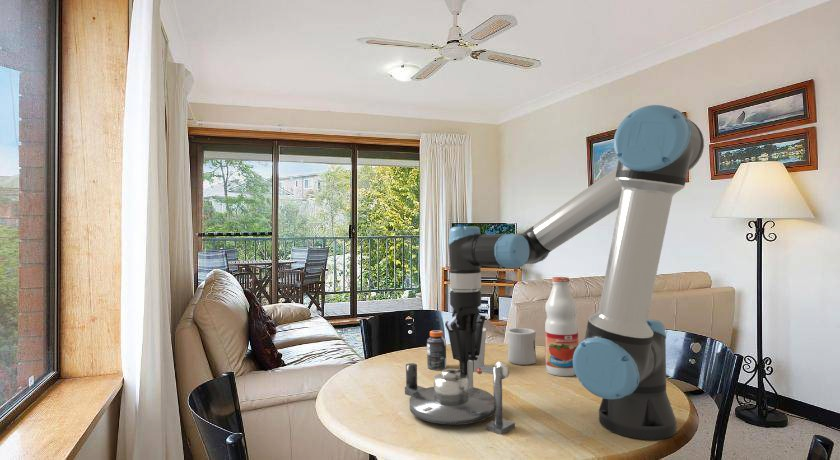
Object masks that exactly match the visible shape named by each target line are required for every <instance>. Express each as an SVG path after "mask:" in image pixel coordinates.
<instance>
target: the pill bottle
mask: <svg viewBox="0 0 840 460" xmlns="http://www.w3.org/2000/svg"><path fill="white" fill-rule="evenodd" d="M443 335H444V333H443V331H442V330H440V329H439V330H435V329H434V330H431V331H429V337H428V338H427V339H426V352H427V353H426V356H427V357H426V358H427V359H426V362H427V364H426V365H427V368H428V369H429V370H434V371H439V370H441V371H442V370H444V369H447V339H446V338H445V337H443Z"/></svg>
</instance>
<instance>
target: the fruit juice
mask: <svg viewBox="0 0 840 460" xmlns="http://www.w3.org/2000/svg"><path fill="white" fill-rule="evenodd" d="M551 283H552V287H551V289H550V294H549V296H548V299H547V300H546V301H545V304H544V305H545V306H544V310H545V314H546V319H545V322H544V343H545V348H544V350H545V371H546V372H547V373H548V374H550V375H553V376H556V377H557V376H558V377H573V376H576V374H575V372H574V368H573V355H574V352H575V350H576V348H577V347H578V345H579V325H578V321H577V318H576V317H577V313H578V304H577V303H576V301H575V300H574V299H575V298H574V297H573V295H572V292H571V289H570V287H569V286H570V285H569V284H570V278H569V277H567V276H553V277H552V278H551Z"/></svg>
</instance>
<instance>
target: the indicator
mask: <svg viewBox="0 0 840 460" xmlns="http://www.w3.org/2000/svg"><path fill="white" fill-rule="evenodd" d="M476 373H477V374H479V375H480V374H482V373H485V374H490V375H493V376H492V377H493V396H494V414H493V420H492V421H490V422H487V423H486V424H485V430H487V431H488V432H489V431H490V432H492V433H495V434H497V435H498V434H499V435H500V436H502V435H504V434H506V433H507V432H509V431H511V430H513V429H514V428H515V427H516V422H514V421H512V420H511V421H510V420H508V419H504V417H503V380H504V379H507V378H508V377H509V374H510V368H509V366H508V365H507V363H506V362H504V361H498V362H495V363H494V364H493V366H491V365H486V364H484V365H482V366H481V368H478V369H477V371H476Z"/></svg>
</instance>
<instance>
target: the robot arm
mask: <svg viewBox="0 0 840 460" xmlns="http://www.w3.org/2000/svg"><path fill="white" fill-rule="evenodd" d="M704 149H705V139H704V134H703V133H702V131H701V129H700V127H699V126H698V125H697V124H696V123H695V122H693V121H692V120H691V119H688V117H686V115H684V113H683V112H682V111H680V110H678V109H676V108H673V107H670V106H665V105H663V104H652V105H645V106H641V107H639V108H637V109H635V110H634V111H631V112H630V113H629V114H628V115H627V116H626V117H625V118H624V119H622V121H620V123H619V125H618V127H617V128H616V131H615V132H614V137H613V150H614V153H615V155H616V159H618V160H617V167H615V168H613V169H612V170H610V171H609V172H608V173H606V175H604V176H602V177H600V179H598V180H596V181H595V182H594V183H593V184H591V185H589V186H588V187H586V188H585V189H584V190H582V191H581V192H579V193H578V194H577V195H575V196H574V197H572V198H571V199H569V200H568V201H567V202H565V203H564V204H562V205H560V206H559V207H558V208H556V209H555V210H553V211H552V212H551V213H550V214H548V215H546V216H545V217H544V218H542V219H541V220H539V221H538V222H536V223H535V224H533V226H530V228H527V230H525V231H523V232H522V233H499V234H498V233H495V234H484V233H483V234H482V233H481V228H480V227H479V226H475V225H474V226H473V225H472V226H470V225H469V226H468V225H467V226H452V227H451V228H450V229H449V236H448V237H449V239H448V252H449V287H450V289H451V290H450V292H449V304H450V306H451V308H453V309H452V314H451V319H450V320H449V321H448V320H447V321H445V322H444V323H445V324H444V326H445V328H446V329H447V333H448V339H449V343H450V349H451V354H452V358H453V360H456V361H459V370H460V374H464V375H466V376H467V377H468V389H471V388H473V387H474V372H475V371H474V360H477V359H478V357H476V356H479V354H480V347H481V339H482V331H483V328H484V324H485V322H486V319H487V318H486V316H485V315H482V314H481V313H480V310H479V307H481V306H482V291H481V290H480V289H481V288H482V271H481V270H482V267H491V268H493V267H495V268H504V269H505V268H506V269H513V268H522V267H524V266H525V265H529V264H530V265H531V264H532V265H533V264H537V263H539V262H543V261H544V260H545V259H547V257H548V256H549V255H550V252H552V251H554V250H555V249H557V248H559V246H562V245H563V244H565V243H566V242H567V241H569V240H571V239H573V238H574V237H575V236H577V235H579V234H581V233H582V232H584V231H585V230H587V229H588V228H589V227H592V226H593V225H594V224H596V223H597V222H599V221H601V220H603V219H604V218H605V217H607V216H609V215H610V214H611V213H614V212H615V211H616V210H617V212H616V217H615V224H614V229H613V233H612V239H611V244H610V250H609V254H608V260H607V264H606V271H605V275H604V281H603V287H602V291H601V295H600V302H599V307H598V310H597V311H596V312H595V313H593V314H591V315H590V316H589V317H588V320H587V325H586V330H585V333H584V334H585V335H584V340H582V341H581V342H578V347H577V348H576V350H575V352H574V355H573V368H574V372H575V374H576V375H575V376H576V378H577V379H578V380H579V382H580V384H581V385H582V387H584V388H585V389H586V390H587V391H588V392H590V393H591V394H593V395H594V396H597V398H598V397H599V398H600V399H601V402H600V405H599V408H598V421H599V425H601V426H602V427H603V428H604V429H606V430H608V431H610V432H612V433H615V434H618V435H621V436H624V437H628V438H631V439H639V440H647V441H648V440H655V441H656V440H665V439H668V438H672V437H673V436H675V435H676V433H677V419H676V415H675V413H674V411H673V410H674V409H673V407H672V404H671V402H670V399H669V397H668V394H667V363H666V362H667V358H666V357H667V355H666V354H667V352H666V351H667V349H666V347H667V346H666V343H667V342H666V339H667V334H666V328H665V327H666V326H665V324H664V323H663V322H662V321H660V320H656V319H651V318H648V317H649V312H650V307H651V303H652V297H653V293H654V287H655V284H656V280H657V279H656V278H657V273H658V269H659V263H660V258H661V254H662V249H663V245H664V240H665V234H666V230H667V225H668V222H669V221H668V220H669V215H670V211H671V205H672V201H673V197H674V196H675V195H676V194H677V193H678V192H680V191H681V190H683V189H684V188H685V185H686V181H687V178H688V177H687V176H688V173H689V171H690V170H692V169H693V168H694V167H695V166H696V165H697V164H698V162H699V161H700V159H701V157H702V155H703V152H704ZM475 349H476V350H475Z"/></svg>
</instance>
